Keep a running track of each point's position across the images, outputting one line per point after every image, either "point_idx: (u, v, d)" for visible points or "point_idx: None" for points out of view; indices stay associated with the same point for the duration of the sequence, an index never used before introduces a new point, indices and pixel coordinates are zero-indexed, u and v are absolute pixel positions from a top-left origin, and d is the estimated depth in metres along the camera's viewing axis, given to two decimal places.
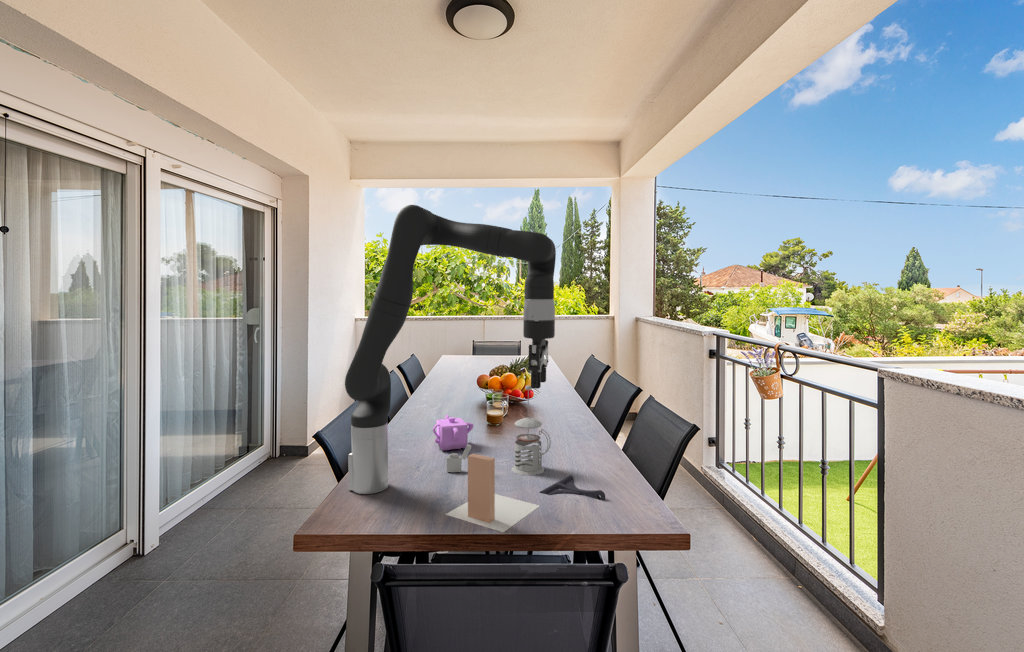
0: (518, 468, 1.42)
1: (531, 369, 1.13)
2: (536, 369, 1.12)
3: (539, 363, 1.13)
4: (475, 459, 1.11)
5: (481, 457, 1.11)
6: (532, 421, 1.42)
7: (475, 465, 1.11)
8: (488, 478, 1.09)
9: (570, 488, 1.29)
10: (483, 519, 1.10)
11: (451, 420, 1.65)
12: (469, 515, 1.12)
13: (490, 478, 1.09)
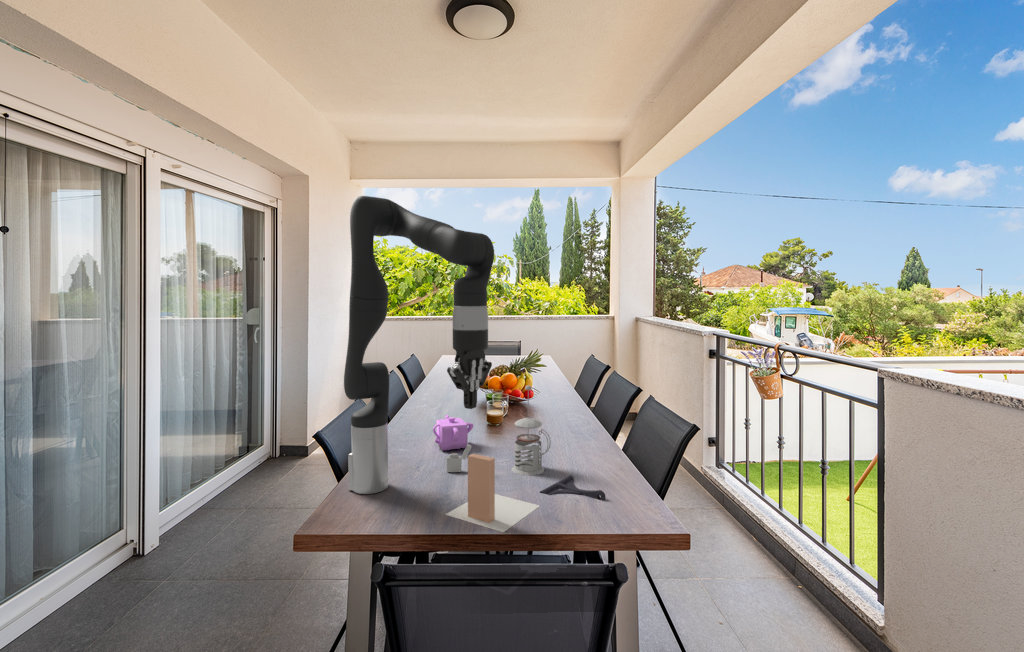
0: (518, 468, 1.42)
1: None
2: None
3: None
4: (475, 459, 1.11)
5: (481, 457, 1.11)
6: (532, 421, 1.42)
7: (475, 465, 1.11)
8: (488, 478, 1.09)
9: (570, 488, 1.29)
10: (483, 519, 1.10)
11: (451, 420, 1.65)
12: (469, 515, 1.12)
13: (490, 478, 1.09)
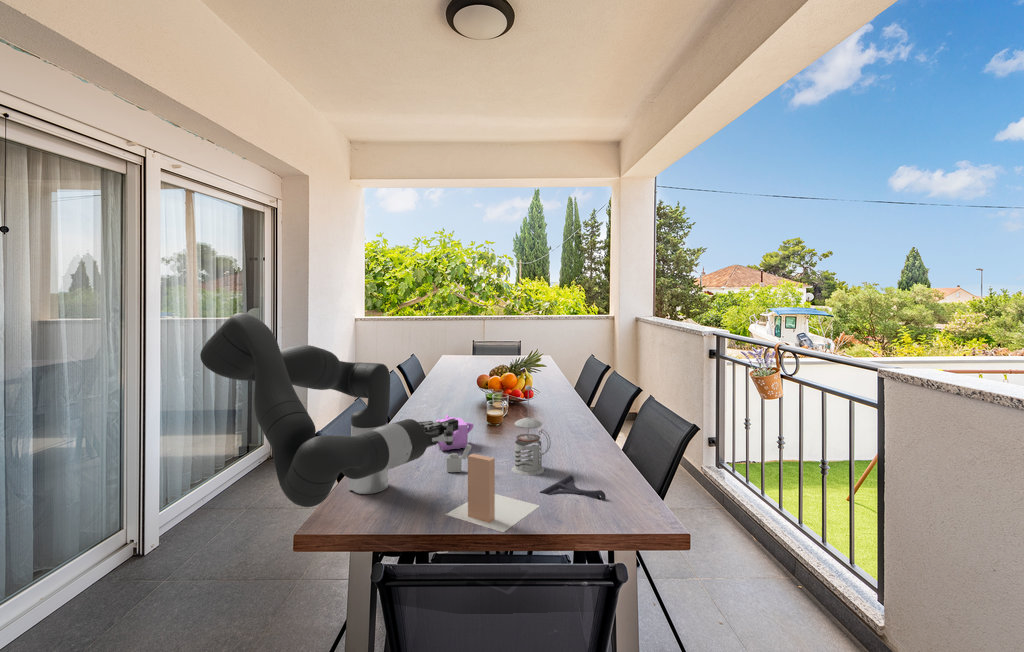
0: (518, 468, 1.42)
1: None
2: None
3: (449, 426, 0.96)
4: (475, 459, 1.11)
5: (481, 457, 1.11)
6: (532, 421, 1.42)
7: (475, 465, 1.11)
8: (488, 478, 1.09)
9: (570, 488, 1.29)
10: (483, 519, 1.10)
11: None
12: (469, 515, 1.12)
13: (490, 478, 1.09)
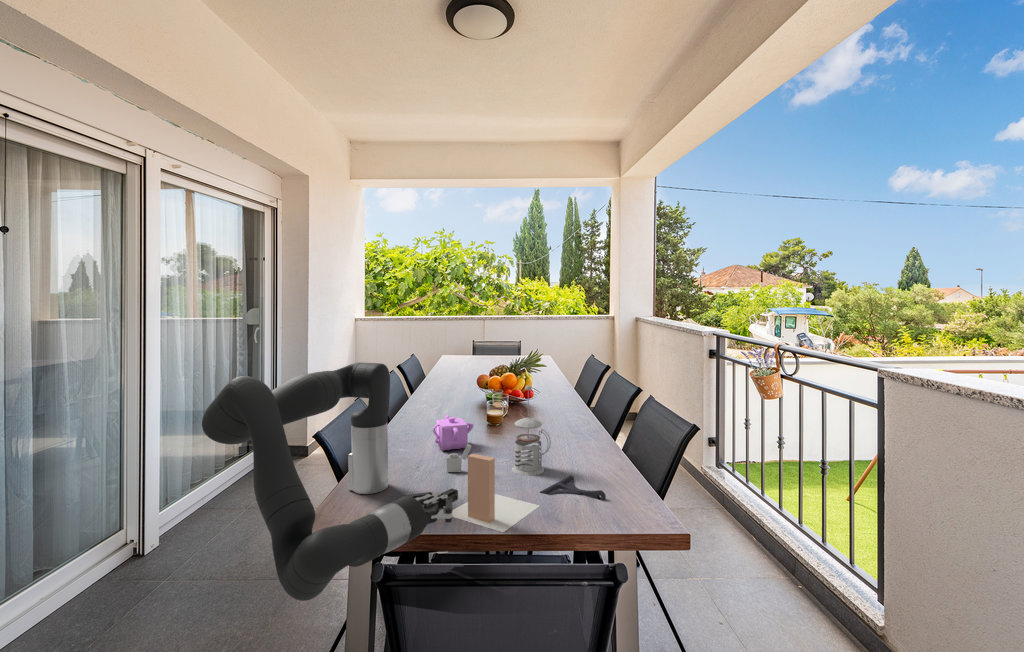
0: (518, 468, 1.42)
1: None
2: None
3: (448, 500, 0.96)
4: (475, 459, 1.11)
5: (481, 457, 1.11)
6: (532, 421, 1.42)
7: (475, 465, 1.11)
8: (488, 478, 1.09)
9: (570, 488, 1.29)
10: (483, 519, 1.10)
11: (451, 420, 1.65)
12: (469, 515, 1.12)
13: (490, 478, 1.09)
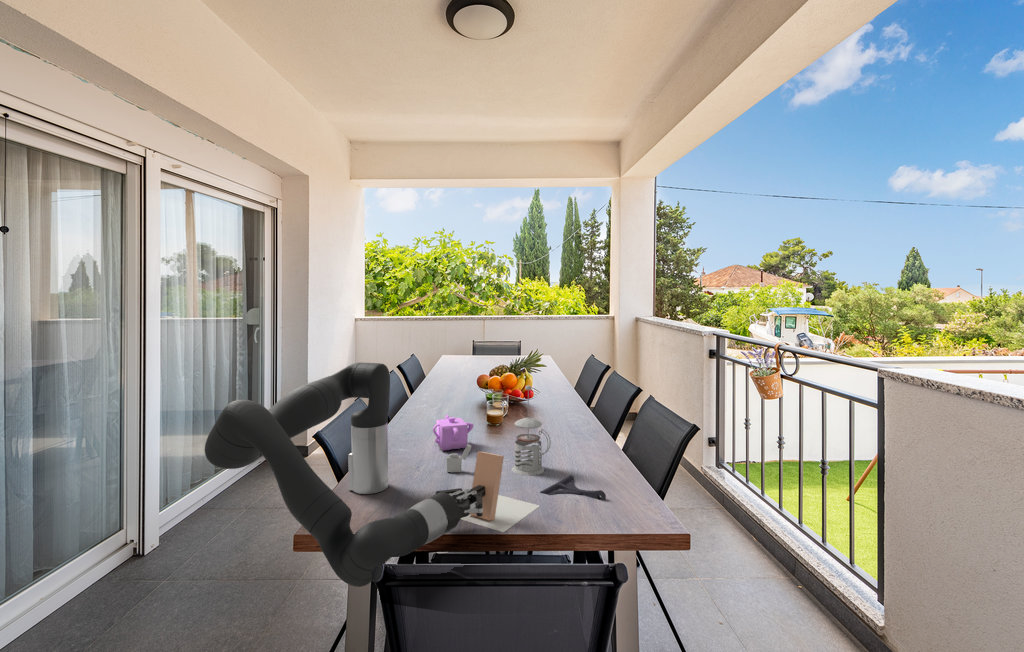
0: (518, 468, 1.42)
1: None
2: None
3: (478, 496, 1.05)
4: (485, 454, 1.14)
5: (491, 453, 1.14)
6: (532, 421, 1.42)
7: (484, 461, 1.13)
8: (495, 474, 1.11)
9: (570, 488, 1.29)
10: (483, 516, 1.10)
11: (451, 420, 1.65)
12: None
13: (497, 474, 1.11)
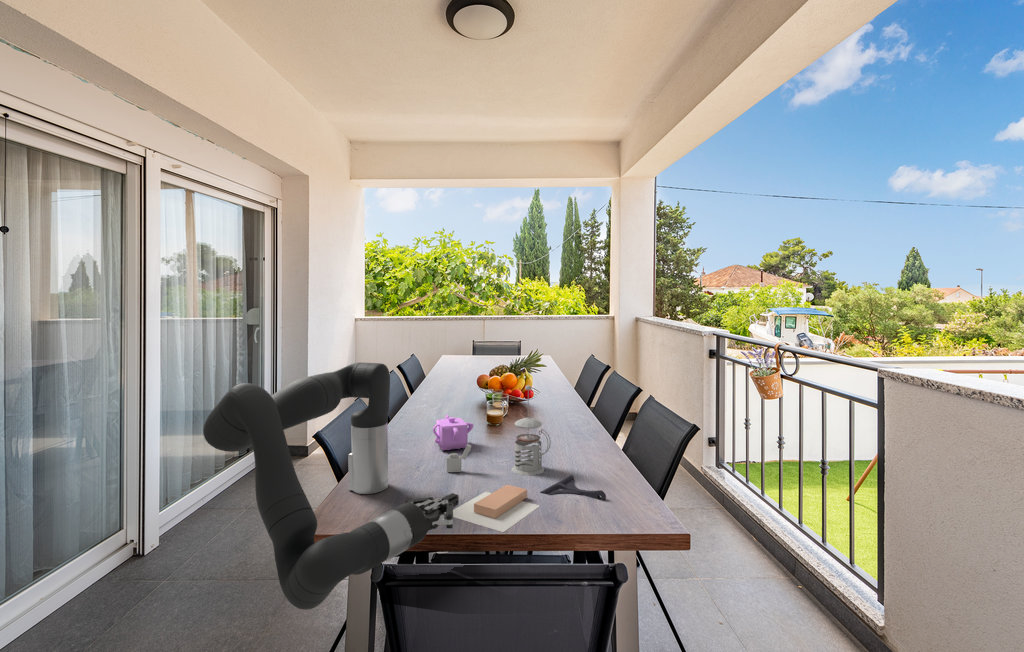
0: (518, 468, 1.42)
1: None
2: None
3: (449, 506, 0.97)
4: (513, 486, 1.25)
5: None
6: (532, 421, 1.42)
7: (510, 488, 1.23)
8: (517, 494, 1.19)
9: (570, 488, 1.29)
10: (490, 507, 1.12)
11: (451, 420, 1.65)
12: (476, 503, 1.14)
13: (518, 496, 1.19)
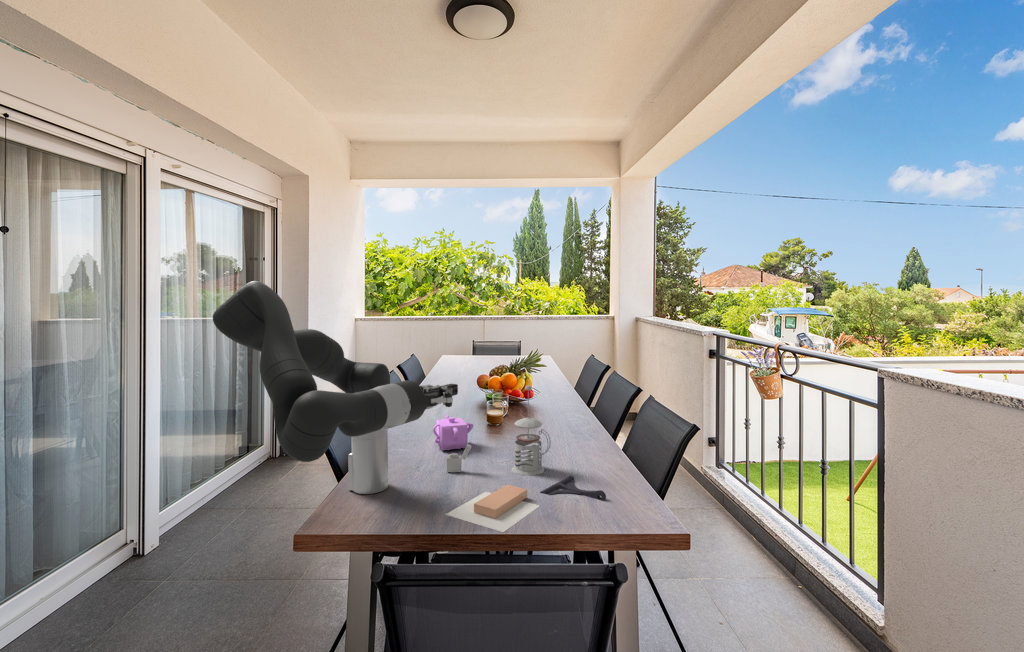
0: (518, 468, 1.42)
1: None
2: None
3: (448, 389, 0.95)
4: (513, 486, 1.25)
5: None
6: (532, 421, 1.42)
7: (510, 488, 1.23)
8: (517, 494, 1.19)
9: (570, 488, 1.29)
10: (490, 507, 1.12)
11: (451, 420, 1.65)
12: (476, 503, 1.14)
13: (518, 496, 1.19)
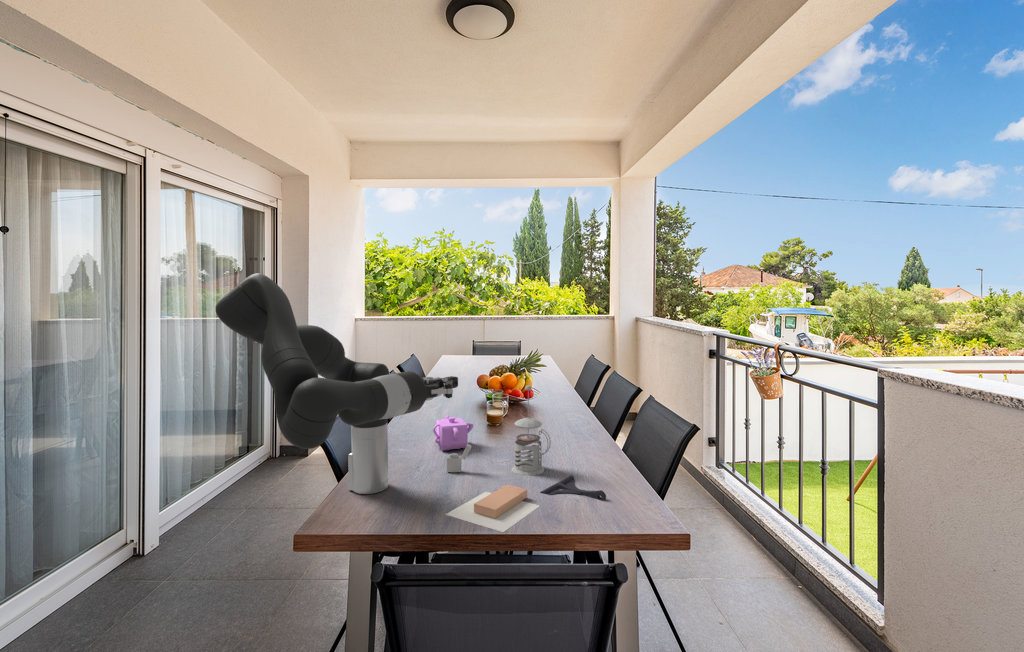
0: (518, 468, 1.42)
1: None
2: None
3: (448, 381, 0.95)
4: (513, 486, 1.25)
5: None
6: (532, 421, 1.42)
7: (510, 488, 1.23)
8: (517, 494, 1.19)
9: (570, 488, 1.29)
10: (490, 507, 1.12)
11: (451, 420, 1.65)
12: (476, 503, 1.14)
13: (518, 496, 1.19)
